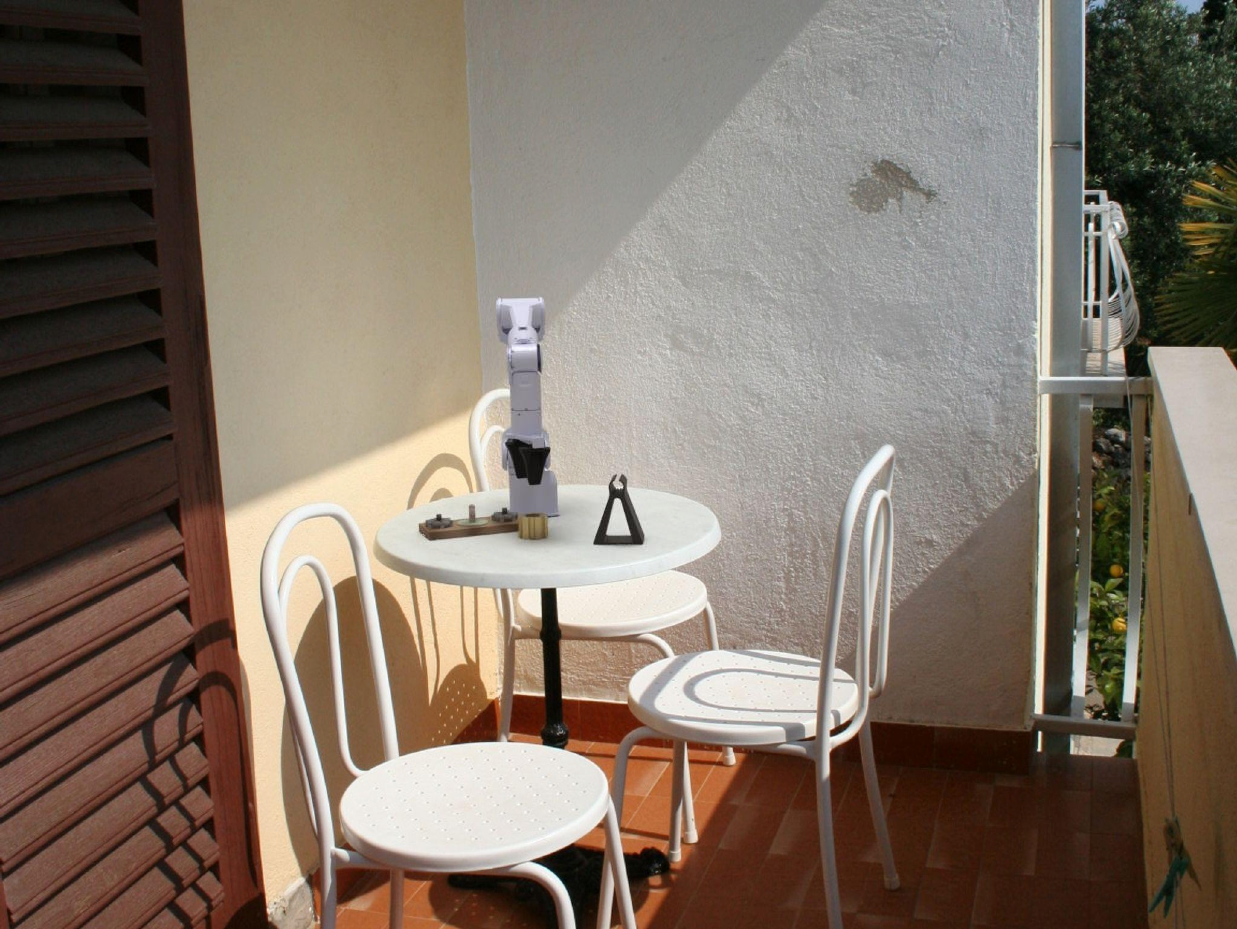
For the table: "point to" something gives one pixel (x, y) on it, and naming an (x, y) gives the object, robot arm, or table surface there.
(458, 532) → the gear board
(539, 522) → the brass gear
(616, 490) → the black clip stand
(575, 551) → the table surface
